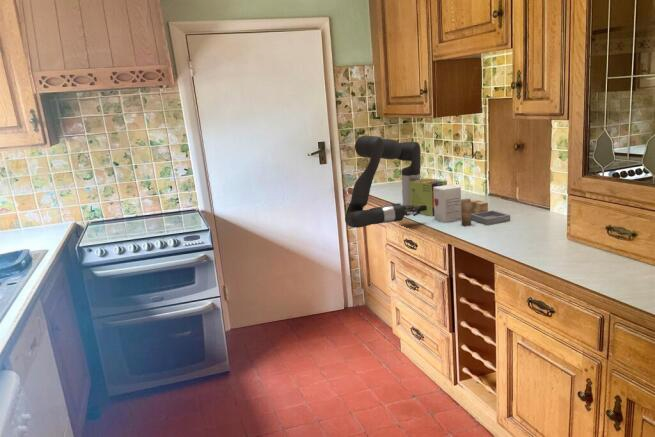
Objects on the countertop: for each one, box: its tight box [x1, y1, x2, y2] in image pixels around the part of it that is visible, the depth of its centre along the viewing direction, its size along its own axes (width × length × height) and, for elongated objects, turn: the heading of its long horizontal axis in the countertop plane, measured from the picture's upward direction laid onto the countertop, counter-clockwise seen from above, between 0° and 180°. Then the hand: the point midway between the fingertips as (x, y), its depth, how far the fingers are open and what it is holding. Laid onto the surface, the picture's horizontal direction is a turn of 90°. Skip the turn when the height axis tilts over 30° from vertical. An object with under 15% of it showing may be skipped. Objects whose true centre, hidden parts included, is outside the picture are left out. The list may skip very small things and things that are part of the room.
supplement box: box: [433, 184, 462, 223], centre depth 233 cm, size 9×9×15 cm
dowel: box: [461, 198, 472, 227], centre depth 221 cm, size 4×4×11 cm
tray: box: [471, 209, 511, 226], centre depth 226 cm, size 12×12×3 cm
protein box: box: [409, 177, 448, 217], centre depth 249 cm, size 10×15×16 cm
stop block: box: [471, 198, 489, 214], centre depth 238 cm, size 10×4×6 cm, turn 19°
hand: (425, 207), depth 229 cm, fingers closed
